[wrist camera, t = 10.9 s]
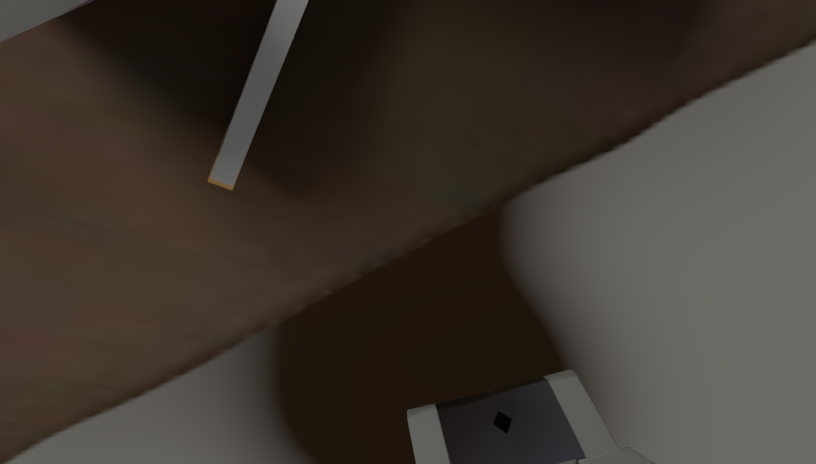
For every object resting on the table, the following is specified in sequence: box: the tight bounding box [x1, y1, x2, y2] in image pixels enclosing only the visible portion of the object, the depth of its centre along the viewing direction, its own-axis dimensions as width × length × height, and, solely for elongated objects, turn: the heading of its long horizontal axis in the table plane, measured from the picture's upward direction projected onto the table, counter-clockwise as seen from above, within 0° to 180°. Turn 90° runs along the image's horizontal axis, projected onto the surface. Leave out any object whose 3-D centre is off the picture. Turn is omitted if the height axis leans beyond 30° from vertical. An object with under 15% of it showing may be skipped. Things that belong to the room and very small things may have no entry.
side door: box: [207, 0, 309, 190], centre depth 22 cm, size 1×13×5 cm, turn 152°
